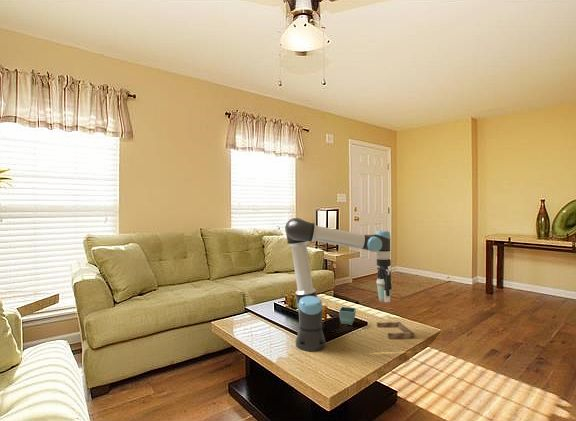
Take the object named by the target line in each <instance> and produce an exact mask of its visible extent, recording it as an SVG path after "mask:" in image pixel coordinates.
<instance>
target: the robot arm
mask: <svg viewBox="0 0 576 421" xmlns="http://www.w3.org/2000/svg"><path fill="white" fill-rule="evenodd" d="M284 230H285V235H286V240H287V245H288V246H290V249H291V255H292V256H291V257H292V261H293V269H294V276H295V281H296V282H295V283H296V288H297V289H296V291H295V293H294V294H295V301H296V308H297V311H298V331H297V335H296V337H295V346H296V348H298V349H299V350H300V351H301V350H302V351H305V352H319V351H321V350H323V349H325V348H326V338H325V335H324V332H323V302H322V299H320V298H319V297H318V295H317V289H316V288H315V287H314V285H313V280H312V271H311V265H310V260H309V253H308V252H309V251H308V247H307V244H308V243H309V242H311V243H312V242H314V241H315V242H321V243H326V244H332V245H338V246H343V247H348V248H354V249H360V250H365V251H370V252H372V253H374V252H375V253H376V256H375V257H376V266H377V268H376V269H377V279H378V278H380V279H384V282H385V289H384V294H385V302H384V303H390V302H391V296H390V290H391V291H392V289H393V288H392V286H391V281H392V278H391V277H392V275H391V274H392V271H391V270H390V269H389V267H391V265H392V261H391V260H392V259H391V255H392V252H391V232H390V231H389V230H377V231H375V234H362V233H356V232H352V231H347V230H346V231H345V230H341V229H337V228H332V227H331V228H330V227H325V226H321V225H320V226H319V225H316V223H315V222H310V221H307V220H304V219H302V218H300V217H293V218H290V219H289V220H288V221H287V222H286V223H285V226H284ZM377 279H376V280H377Z"/></svg>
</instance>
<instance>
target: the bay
mask: <svg viewBox="0 0 576 421" xmlns="http://www.w3.org/2000/svg"><path fill="white" fill-rule="evenodd" d="M376 327H377V328H397V327H398V328H399V330H401V331H402V332H387V338H388V339H389V340H390V339H392V340H393V339H396V340H397V339H414V335H415V333H414V332H413V331H412V330H410V329H409V328H408V327H406V326H405V325H404V324H403V323H401V322H400V321H386V322H385V321H381V322H380V321H379V322H376Z"/></svg>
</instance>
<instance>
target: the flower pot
mask: <svg viewBox="0 0 576 421" xmlns="http://www.w3.org/2000/svg"><path fill="white" fill-rule="evenodd" d="M356 310H357V308H355V307H348V306H341V307H340V308H339V311H338V313H339V322H341V324H349V325H351V326H353V323H354V321H355V318H356Z"/></svg>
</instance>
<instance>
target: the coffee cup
mask: <svg viewBox="0 0 576 421" xmlns="http://www.w3.org/2000/svg"><path fill="white" fill-rule="evenodd" d="M377 278H378V277H377ZM375 283H376V288H377V295H378V296H377V297H378V301H379V302H380V303H386V302H385V294H384V289H385V282H384V279H380V278H378V279H376V282H375ZM392 284H393V281H392V280H391V287H392ZM391 293H392V289H391V290H390V297H392V296H391V295H392V294H391Z"/></svg>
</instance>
